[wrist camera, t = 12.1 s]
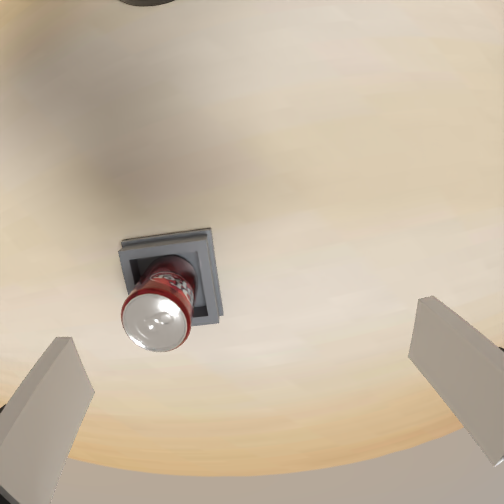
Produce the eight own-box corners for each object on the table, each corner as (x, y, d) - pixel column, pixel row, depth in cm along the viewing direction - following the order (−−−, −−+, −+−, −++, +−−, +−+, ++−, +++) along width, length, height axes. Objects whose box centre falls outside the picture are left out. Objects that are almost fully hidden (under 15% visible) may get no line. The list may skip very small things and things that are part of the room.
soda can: (160, 312, 41) (142, 362, 30) (136, 266, 39) (106, 305, 28) (207, 294, 41) (203, 342, 30) (184, 245, 39) (169, 279, 28)
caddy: (123, 240, 39) (113, 248, 35) (211, 228, 40) (209, 235, 36) (142, 320, 43) (135, 334, 39) (223, 312, 43) (223, 326, 39)
